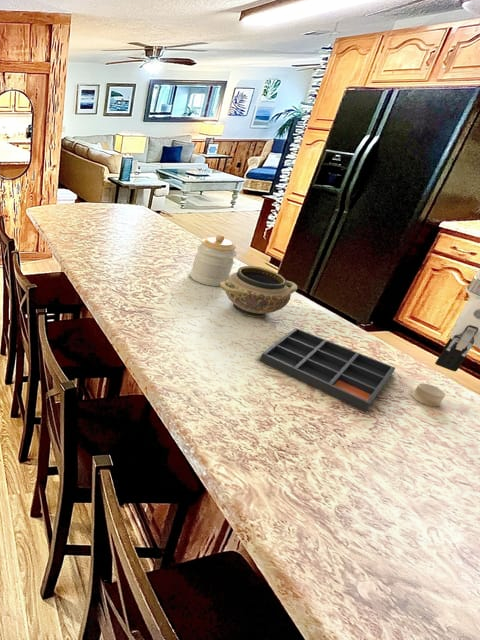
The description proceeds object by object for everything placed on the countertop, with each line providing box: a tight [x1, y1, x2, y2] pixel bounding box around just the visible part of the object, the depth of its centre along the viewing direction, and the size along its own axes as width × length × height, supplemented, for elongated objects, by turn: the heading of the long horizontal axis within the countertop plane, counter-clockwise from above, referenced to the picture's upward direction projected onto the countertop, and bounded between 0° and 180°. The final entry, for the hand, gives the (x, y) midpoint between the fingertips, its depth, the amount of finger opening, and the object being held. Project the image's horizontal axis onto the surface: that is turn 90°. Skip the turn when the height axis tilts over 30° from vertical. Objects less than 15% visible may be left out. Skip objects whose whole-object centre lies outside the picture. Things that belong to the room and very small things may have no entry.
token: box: [412, 382, 446, 407], centre depth 89 cm, size 4×4×3 cm
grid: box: [259, 327, 396, 413], centre depth 99 cm, size 22×22×2 cm
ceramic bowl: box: [219, 265, 298, 318], centre depth 123 cm, size 24×18×15 cm
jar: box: [190, 234, 237, 287], centre depth 143 cm, size 13×13×18 cm
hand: (449, 359), depth 85 cm, fingers open, 9 cm apart
